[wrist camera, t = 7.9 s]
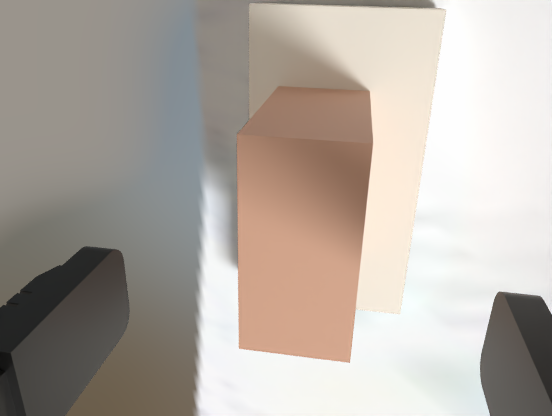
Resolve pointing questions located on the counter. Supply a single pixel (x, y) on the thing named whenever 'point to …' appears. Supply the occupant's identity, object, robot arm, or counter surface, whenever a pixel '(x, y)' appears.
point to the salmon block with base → (330, 169)
